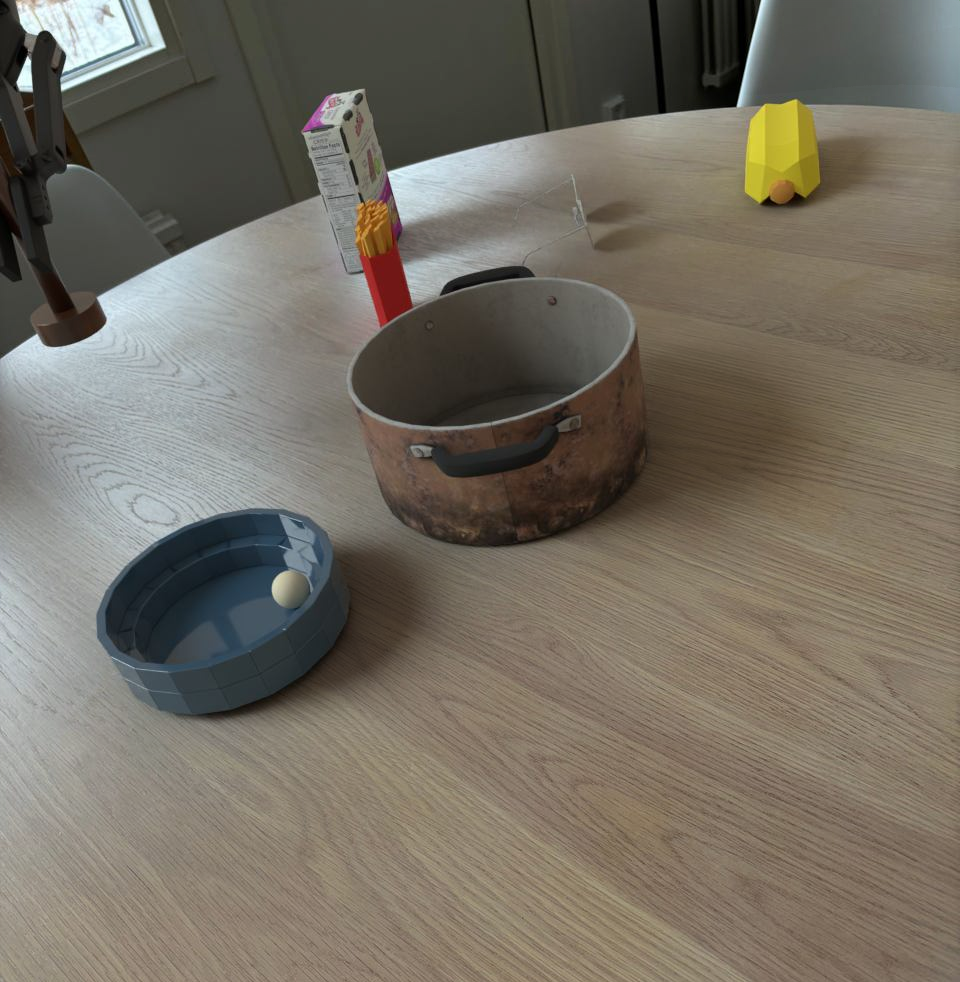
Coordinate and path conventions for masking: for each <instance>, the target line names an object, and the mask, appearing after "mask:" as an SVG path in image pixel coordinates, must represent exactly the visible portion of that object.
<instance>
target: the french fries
mask: <svg viewBox="0 0 960 982" xmlns="http://www.w3.org/2000/svg"><path fill="white" fill-rule="evenodd" d="M365 204H366V206H364V204H363V202H362V204H361V203H360V204H359V205H358V207H357V213H358V215H359V216H358V217H357V221H356V223H357V228H356V229H355V233H356V236H357V238H356V239H355V243H356V245H357V248H358V250H359V253H360V255H359V257H360V261H361V264H362V267H363V270H364V272H363V274H364V277H365V280H366V283H367V287H368V290H369V294H370V296H371V301H372V303H373V307H374V310H375V313H376V317H377V320H378V323H379V327H380V328H381V327H383V326H384V325H386V324H387V323H389V322H390V321H391V320H393V319H394V318H396V317H397V316H399V315H401V314H403V313H405V312H407V311H409V310H410V309H412V308H414V304H413V300H412V295H411V293H410V289H409V288H410V287H409V284H408V281H407V277H406V276H407V275H406V273H405V269H404V266H403V262H402V257H401V253H400V250H399V245H398V242H397V241H396V238H395V234H394V230H393V227H392V226H390V219H389V211H388V207H387V205H386V203H385V204H384V205H383V203H382V200H381V201H380V202H379V203H378V204H377V207H376V201H375V200H373V201H372V202H371V200H370V199H369V200H368V201H367V202H366V203H365Z"/></svg>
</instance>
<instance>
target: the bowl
mask: <svg viewBox="0 0 960 982" xmlns="http://www.w3.org/2000/svg"><path fill="white" fill-rule="evenodd" d="M289 570H293V571H297V572H300V573H302V574H303V575H304V576H305V577H306V578H307V579H308V581H309V584H310V596H309V597H308V599H307V600H306V602H305V603H304V604H303V605H302V606H300V607H298V608H293V609H289V608H285V607H282V606H281V605H279V604H278V603H277V602H276V601H275V599H274V597H273V595H272V584H273V581H274V580H275V578H276V577H277V576H278V575H279V574H280V573H282V572H285V571H289ZM350 602H351V593H350V590H349V588H348V585H347V582H346V578H345V577H344V574H343V571H342V569H341V566H340V563H339V560H338V558H337V555H336V552H335V550H334V548H333V545H332V543H331V540H330V537H329V534H328V532H327V531H326V530H325V529H324V528H323V527H321V526H320V525H319V524H318V523H317V522H315V521H314V519H312V518H310V517H309V516H307V515H304V514H300V513H297V512H294V511H291V510H288V509H284V508H265V507H264V508H263V507H251V508H244V509H239V510H234V511H228V512H227V511H225V512H221V513H217V514H214V515H212V516H209V517H206V518H202V519H200V520H198V521H195V522H191V523H189V524H185V525H184V526H182V527H180V528H178V529H177V530H174V531H172V532H171V533H169V534H167V535H166V536H164V537H162V538H160V539H158V540H156V541H154V542H153V543H152V544H150V545H149V546H148V547H147V548H145V549H144V550H143V551H142V552H140V553H139V554H138V555H137V556H135V557H134V558H133V559H132V560H130V561H129V562H128V563H126V565H125V566H124V567H123V568H122V570H121V571H120V572H119V573H118V574H117V575H116V576H115V578H114V579H113V581H112V582H111V583H110V584H109V585H108V587H106V589H105V592H104V594H103V596H102V599H101V601H100V603H99V607H98V609H97V611H96V614H95V619H96V620H95V621H96V639H97V640H98V642H99V643H100V645H101V646H102V648H103V650H104V651H105V653H106V655H107V656H108V658H109V659H110V661H111V663H112V664H113V666H114V668H115V669H116V671H117V673H118V674H119V675H120V677H121V678H122V681H124V683H125V685H126V686H127V687H128V689H129V691H130V692H131V693H132V695H133V696H134V698H135V699H136V700H139V701H140V702H142V703H144V704H146V705H148V706H150V707H152V708H154V709H156V710H158V711H160V712H166V713H175V714H184V715H191V716H196V715H203V714H211V713H219V712H225V711H232V710H234V709H237V708H240V707H242V706H246V705H248V704H251V703H253V702H256V701H259V700H261V699H265V698H267V697H270V696H272V695H273V694H275V693H277V692H278V691H280V690H282V689H283V688H285V687H287V686H288V685H290V684H292V683H293V682H295V681H296V680H298V679H299V678H301V677H303V676H304V675H305V674H307V672H309V671H310V669H312V667H314V666H315V665H316V664H317V662H319V661H320V660H321V659H322V658H323V657H324V656H325V655H326V654H327V653H328V652H329V651H330V650H331V649H332V647H333V646H334V644H335V643H336V640H337V639H338V638H339V635H340V634H341V633H342V631H343V629H344V627H345V625H346V623H347V621H348V615H349V608H350Z"/></svg>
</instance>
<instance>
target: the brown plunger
mask: <svg viewBox="0 0 960 982" xmlns="http://www.w3.org/2000/svg"><path fill="white" fill-rule="evenodd" d="M10 174H11V173H9V170H8V168H7V166H6V164H5V163H4V160H3V157H2V156H1V155H0V210H1V212H2V214H3V216H4V218H5V220H6V222H7V224H8V226H9V228H10V230H11V232H12V236H13V239H14V240H15V242H16V244H17V245H18V247H19V249H20V251H21V253H22V255H23V257H24V259H25V261H26V264H27V265H28V267H29V269H30V271H31V273H32V274H33V277H34V278H35V281H36V282H37V284H38V286H39V288H40V290H41V292H42V294H43V296H44V298H45V300H46V302H45V303H43V304H42V305H40V306H39V307H38V308H36V309H35V310H34V311H32V313H31V315H30V317H29V321H30V323H31V325H32V327H33V329H34V331H35V332H36V334H37V336H38V339H39V340H40V342H41V344H42V345H43V346H44V347H47V348H61V347H67V346H71V345H74V344H77V343H80V342H83V341H84V340H86V339H89V338H90V337H92V336H94V335H95V334H97V333H98V332H100V331H101V330H102V329H103V328H104V326H105V325H106V324H107V322H108V319H107V316H106V313H105V311H104V309H103V307H102V305H101V302H100V301H99V299H98V297H97V295H96V294H95V293H94V292H91V291H75V292H71V293H69V291H68V289H67V287H66V285H65V283H64V281H63V279H62V277H61V275H60V272H59V271H58V269H57V266H56V265H55V263H54V261H53V259H52V257H51V256H50V259H51V263H52V268H53V272H51V273H47V274H43V273H42V272H41V271H40V270H38V269H37V268H36V267H35V266H34V265H33V264H31V263H30V262H29V261H28V260H27V256H26V252H25V248H24V243H23V239H22V235H21V230H20V226H19V221H18V217H17V213H16V208H15V204H14V200H13V195H12V191H11V187H10V182H9V178H8V177H11V176H12V175H10Z"/></svg>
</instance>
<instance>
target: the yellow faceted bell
mask: <svg viewBox="0 0 960 982" xmlns="http://www.w3.org/2000/svg"><path fill="white" fill-rule="evenodd" d="M817 139H818V138H817V134H816V127H815V122H814V115H813V111H812V110H811V109H810V108H808V107H807V105H804V104H803V103H802V102H801V101H800V100H798V98H795V99H792V100H789V101H786V102H784V103H764V105H763V106H762V107H761V108H760V109H759V110H758V111H757V112H756V114H755V115H754V116H753V117H752V118H751V119H750V121H749V128H748V137H747V144H746V150H745V151H746V153H745V171H744V172H745V173H744V177H745V178H744V193H745V194H746V195H748V196H749V197H750V198H751V199H752V200H754V201H755V202H756V203H757V204H759V205H762V204H763V203H764V202H765V201H766V200H767V199H770V200H771V201H772V202H774V203H776V204H778V205H782V204H787V203H788V202H789V201H790V200H792V198H794V196H795V193H797V194H798V195H800V196H801V198H803V199H804V200H805V199H806V198H807V197H808V196H809V195H810V194H811V193H812V192H813V191H814V190H815V189H816V188H817V187H818V186H819V184H820V183H821V175H820V157H819V149H818V147H819V146H818V140H817Z"/></svg>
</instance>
